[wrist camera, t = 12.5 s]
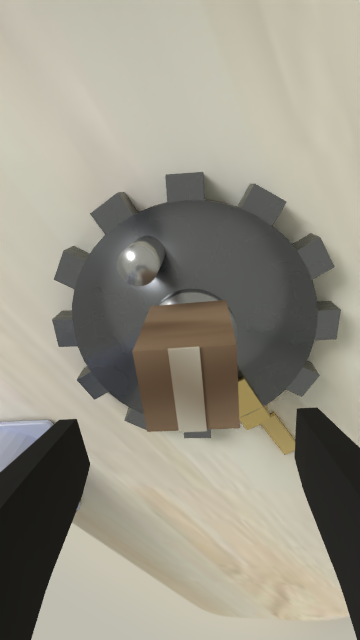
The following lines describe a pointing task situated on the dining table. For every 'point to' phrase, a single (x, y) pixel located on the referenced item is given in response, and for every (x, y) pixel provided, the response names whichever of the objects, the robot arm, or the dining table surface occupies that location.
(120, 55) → the dining table surface
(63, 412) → the dining table surface
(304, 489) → the robot arm
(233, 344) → the walnut block
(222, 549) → the dining table surface
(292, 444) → the pointer
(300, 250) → the sprocket
